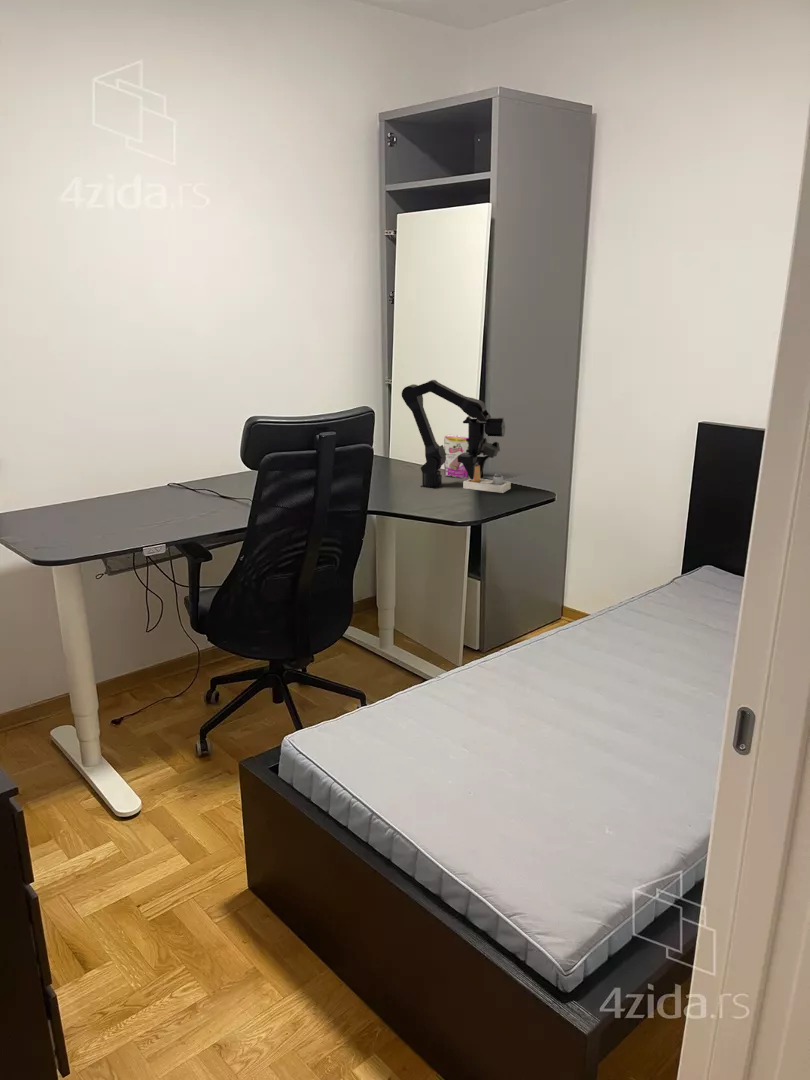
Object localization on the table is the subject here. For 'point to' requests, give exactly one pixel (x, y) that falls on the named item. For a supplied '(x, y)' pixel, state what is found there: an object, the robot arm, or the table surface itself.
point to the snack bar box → (455, 455)
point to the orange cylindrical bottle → (476, 474)
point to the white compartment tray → (487, 485)
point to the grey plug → (498, 479)
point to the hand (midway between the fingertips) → (475, 477)
